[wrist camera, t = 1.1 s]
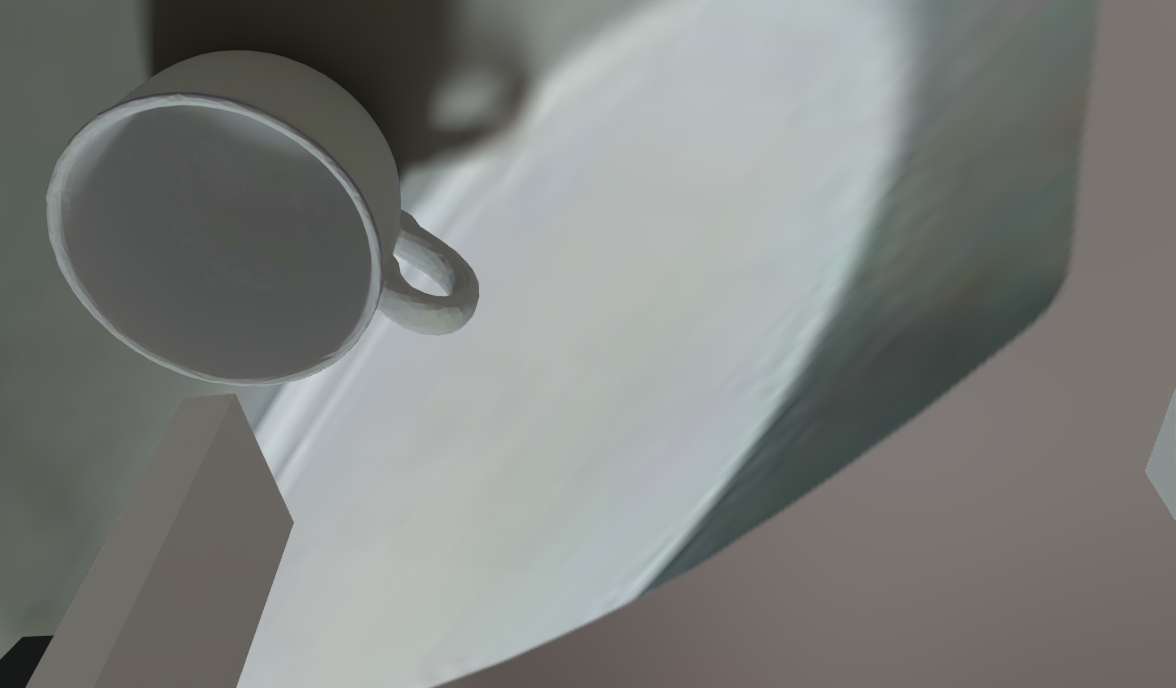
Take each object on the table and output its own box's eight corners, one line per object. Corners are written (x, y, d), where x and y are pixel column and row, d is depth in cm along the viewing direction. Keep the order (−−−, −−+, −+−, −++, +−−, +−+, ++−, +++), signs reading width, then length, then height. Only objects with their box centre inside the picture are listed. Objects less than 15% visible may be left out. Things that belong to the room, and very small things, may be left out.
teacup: (106, 186, 37) (6, 301, 31) (191, -50, 32) (89, 32, 25) (417, 336, 42) (384, 463, 36) (540, 153, 36) (527, 265, 30)
